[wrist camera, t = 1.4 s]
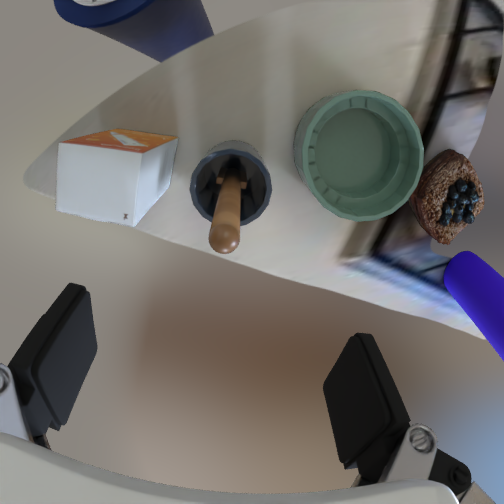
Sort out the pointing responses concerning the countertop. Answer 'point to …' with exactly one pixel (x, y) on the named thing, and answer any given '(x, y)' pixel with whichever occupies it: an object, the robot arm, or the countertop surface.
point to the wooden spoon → (227, 211)
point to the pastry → (447, 196)
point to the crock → (208, 190)
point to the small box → (113, 174)
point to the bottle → (478, 295)
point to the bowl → (359, 154)
